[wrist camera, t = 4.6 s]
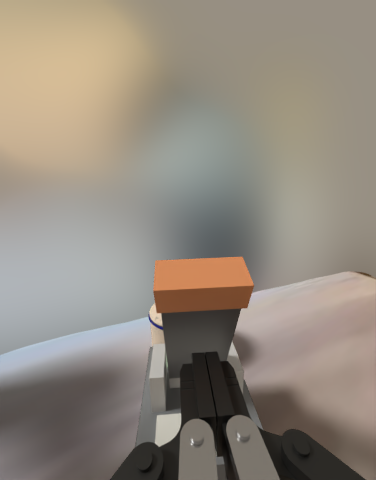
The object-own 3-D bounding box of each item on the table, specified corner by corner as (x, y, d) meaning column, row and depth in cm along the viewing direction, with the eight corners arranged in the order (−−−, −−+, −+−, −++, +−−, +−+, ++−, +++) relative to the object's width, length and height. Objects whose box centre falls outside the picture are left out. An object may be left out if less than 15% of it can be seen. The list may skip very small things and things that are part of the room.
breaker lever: (223, 387, 20) (254, 287, 11) (168, 392, 20) (153, 292, 11) (218, 360, 22) (242, 255, 13) (168, 364, 22) (155, 259, 12)
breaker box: (266, 541, 17) (278, 419, 14) (141, 557, 16) (126, 433, 14) (228, 398, 29) (230, 316, 26) (154, 405, 28) (148, 321, 25)
